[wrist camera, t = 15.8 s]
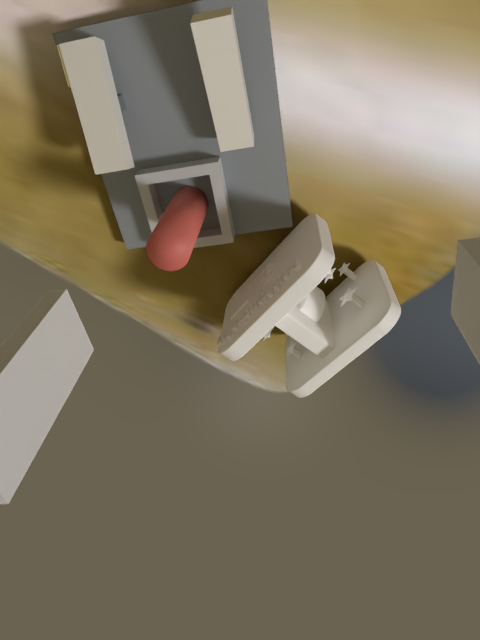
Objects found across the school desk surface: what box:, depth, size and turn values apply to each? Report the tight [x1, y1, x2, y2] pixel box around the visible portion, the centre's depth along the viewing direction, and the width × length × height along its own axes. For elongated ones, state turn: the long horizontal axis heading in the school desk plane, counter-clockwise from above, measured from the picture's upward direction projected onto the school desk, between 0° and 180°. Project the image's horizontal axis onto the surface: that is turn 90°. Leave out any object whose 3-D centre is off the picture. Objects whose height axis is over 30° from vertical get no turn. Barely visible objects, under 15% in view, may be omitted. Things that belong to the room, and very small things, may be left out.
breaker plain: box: [190, 6, 254, 152], centre depth 36 cm, size 10×3×2 cm, turn 11°
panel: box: [53, 0, 293, 249], centre depth 41 cm, size 20×18×4 cm
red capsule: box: [146, 186, 208, 271], centre depth 40 cm, size 4×4×11 cm
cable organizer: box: [218, 213, 401, 398], centre depth 46 cm, size 15×11×12 cm
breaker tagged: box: [57, 36, 135, 175], centre depth 38 cm, size 10×3×2 cm, turn 9°
